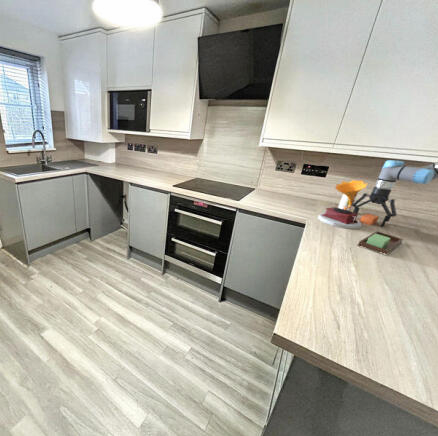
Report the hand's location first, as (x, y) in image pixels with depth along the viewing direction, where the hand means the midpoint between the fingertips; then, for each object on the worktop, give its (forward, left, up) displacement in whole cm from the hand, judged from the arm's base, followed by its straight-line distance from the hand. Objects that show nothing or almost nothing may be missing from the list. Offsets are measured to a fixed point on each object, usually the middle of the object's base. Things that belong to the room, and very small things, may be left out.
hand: (367, 221), depth 143 cm
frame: (-14, +34, 0) cm, 37 cm away
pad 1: (0, 0, 0) cm, 0 cm away
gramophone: (+9, +18, 0) cm, 20 cm away
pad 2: (-14, +40, +1) cm, 42 cm away
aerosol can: (+16, -10, 0) cm, 19 cm away
